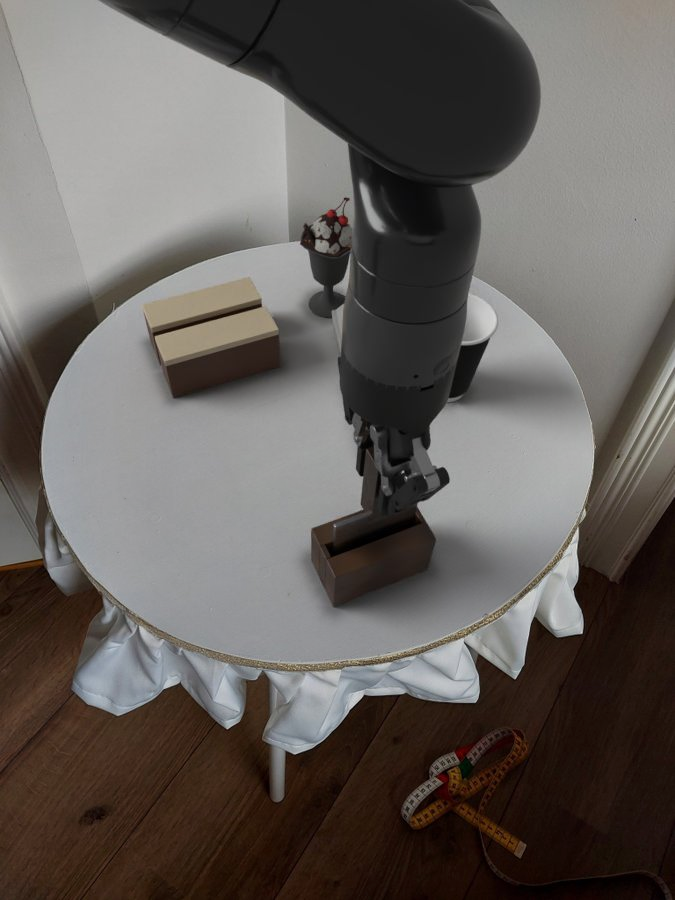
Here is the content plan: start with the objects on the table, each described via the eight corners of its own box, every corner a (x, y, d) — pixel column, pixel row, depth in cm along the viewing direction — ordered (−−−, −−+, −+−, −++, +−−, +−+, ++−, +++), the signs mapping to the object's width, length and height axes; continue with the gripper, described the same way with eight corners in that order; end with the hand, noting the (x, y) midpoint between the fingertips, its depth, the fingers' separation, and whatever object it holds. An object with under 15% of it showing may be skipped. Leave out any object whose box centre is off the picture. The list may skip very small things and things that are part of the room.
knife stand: (333, 607, 67) (335, 578, 62) (311, 559, 70) (311, 528, 65) (428, 569, 70) (436, 538, 65) (402, 525, 73) (409, 492, 68)
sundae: (364, 299, 93) (372, 196, 81) (336, 329, 89) (339, 227, 77) (321, 280, 95) (322, 177, 83) (291, 309, 91) (289, 205, 79)
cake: (173, 398, 82) (164, 361, 77) (150, 342, 87) (141, 304, 82) (280, 366, 85) (278, 329, 81) (252, 314, 91) (249, 276, 86)
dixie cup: (483, 370, 86) (503, 299, 77) (472, 419, 81) (492, 350, 73) (418, 355, 87) (430, 284, 78) (404, 403, 82) (415, 333, 74)
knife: (336, 589, 68) (343, 482, 54) (326, 569, 70) (331, 460, 55) (411, 559, 71) (437, 449, 56) (401, 541, 72) (424, 428, 57)
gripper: (303, 284, 49) (305, 440, 62) (398, 438, 41) (375, 577, 55) (403, 258, 51) (383, 415, 64) (510, 400, 43) (462, 544, 57)
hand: (380, 489), depth 60 cm, fingers open, 3 cm apart
